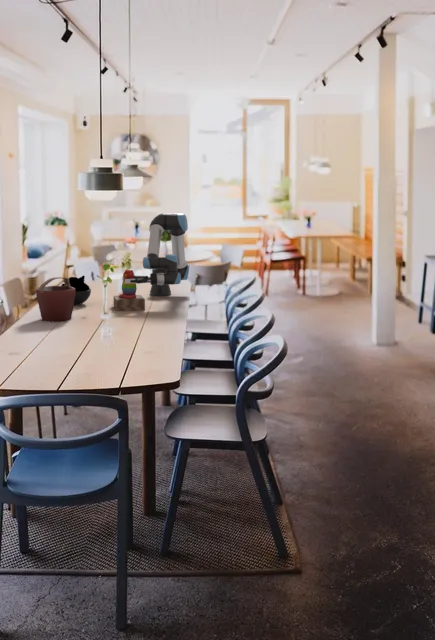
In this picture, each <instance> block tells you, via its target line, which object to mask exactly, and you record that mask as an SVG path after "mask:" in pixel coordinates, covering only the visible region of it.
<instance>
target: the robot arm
mask: <svg viewBox="0 0 435 640" xmlns="http://www.w3.org/2000/svg"><path fill="white" fill-rule="evenodd" d="M188 224H189V223H188V218H187V216H186V214H185V213H179V212H178V213H170V212H169V213H168V212H167V213H160V214H157V215H156V216H155V217H154V218H152V220H151V222H150V224H149V228H148V230H149V239H148V245H147V247H148V248H147V252H146V253H147V254H146V256H144V257H143V258H142V267H143V268H144V269H145V270H146V269H147V270H151V273H150V274H149V276H148V275H135V274H134V277H133V279H125V278H124V277H123V276H122V281H123V280H124V279H125V283H135V282H136V285H137V284H138V285H139V284H148V283H149V284H150V285H151V287H150V290H149V296H158V297H162V296H163V297H165V296H170V295H172V291H171V287H170V285H180V284H181V282H182V281H187V280H188V279H189V272H190V263H188V261H187V260H186V256H185V255H186V252H185V234H186V232H187V231H188V228H189V227H188ZM164 231H167V232H168V234H169V235H170V238H171V252H172V253H170V254H169V253H167V254H166V255H165V256H164V257H163V256H161V257H160V249H161V242H162V241H161V240H162V234H163V233H164Z"/></svg>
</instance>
